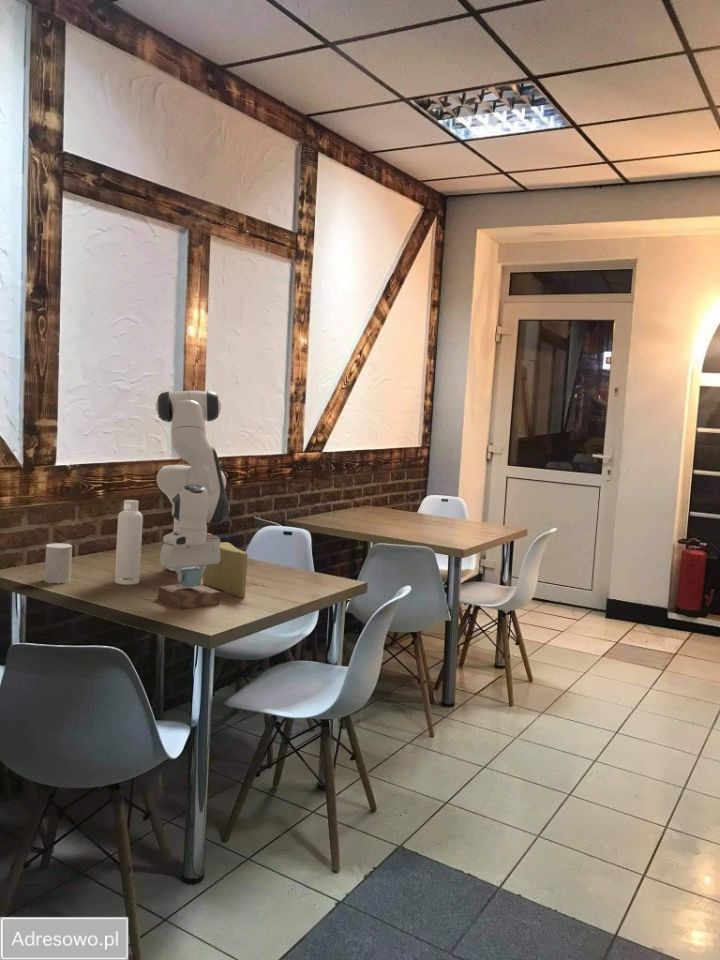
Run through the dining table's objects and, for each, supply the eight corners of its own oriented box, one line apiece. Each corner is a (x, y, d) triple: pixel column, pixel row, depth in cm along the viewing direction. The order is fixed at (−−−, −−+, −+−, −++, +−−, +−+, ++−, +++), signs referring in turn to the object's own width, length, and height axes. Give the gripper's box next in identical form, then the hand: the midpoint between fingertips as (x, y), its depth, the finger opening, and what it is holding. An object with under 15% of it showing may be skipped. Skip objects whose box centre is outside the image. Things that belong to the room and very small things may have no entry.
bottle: (144, 581, 274) (148, 501, 271) (128, 585, 266) (132, 503, 264) (125, 577, 277) (130, 498, 275) (109, 581, 270) (113, 500, 267)
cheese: (256, 597, 265) (259, 552, 264) (229, 599, 259) (232, 554, 258) (226, 582, 283) (229, 540, 282) (201, 584, 277) (203, 541, 276)
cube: (192, 582, 255) (193, 567, 255) (200, 585, 251) (201, 570, 251) (178, 583, 252) (179, 568, 251) (186, 587, 248) (187, 571, 248)
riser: (196, 594, 262) (196, 582, 261) (219, 604, 252) (220, 591, 251) (157, 598, 252) (158, 586, 252) (180, 609, 242) (181, 596, 242)
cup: (61, 584, 261) (63, 548, 260) (39, 581, 262) (40, 546, 261) (75, 580, 269) (76, 545, 268) (53, 577, 270) (55, 542, 269)
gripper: (215, 533, 260) (212, 574, 261) (158, 536, 246) (156, 580, 247) (225, 536, 255) (223, 578, 256) (168, 540, 241) (166, 584, 242)
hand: (189, 579), depth 251 cm, fingers closed on cube, 5 cm apart
